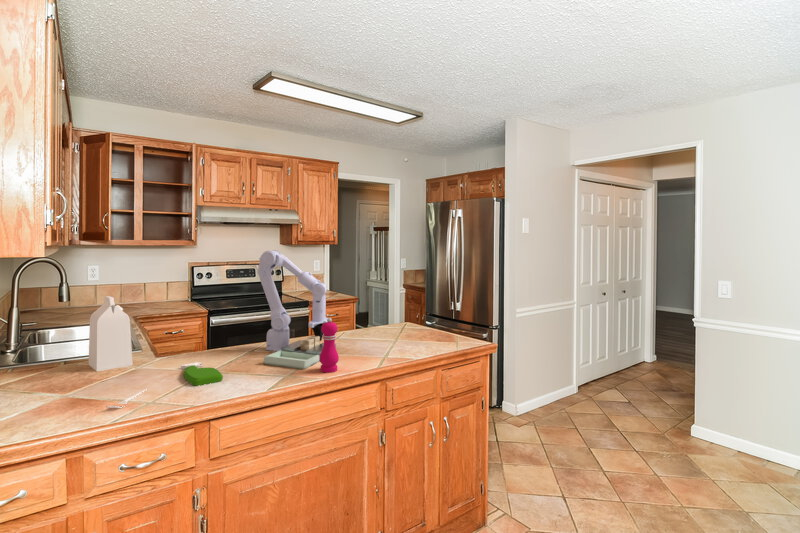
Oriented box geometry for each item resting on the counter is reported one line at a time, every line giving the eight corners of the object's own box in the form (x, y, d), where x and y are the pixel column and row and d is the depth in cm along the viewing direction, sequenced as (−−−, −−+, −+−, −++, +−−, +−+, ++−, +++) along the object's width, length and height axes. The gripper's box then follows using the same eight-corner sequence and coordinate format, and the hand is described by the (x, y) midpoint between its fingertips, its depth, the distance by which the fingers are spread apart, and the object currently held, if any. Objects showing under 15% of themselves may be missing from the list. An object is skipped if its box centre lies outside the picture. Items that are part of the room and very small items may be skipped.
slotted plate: (281, 356, 183) (281, 347, 183) (299, 348, 196) (299, 340, 196) (319, 361, 177) (319, 351, 177) (335, 353, 190) (335, 344, 190)
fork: (154, 389, 143) (154, 384, 143) (116, 412, 123) (115, 406, 123) (144, 389, 143) (144, 384, 143) (104, 412, 123) (104, 406, 123)
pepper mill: (342, 370, 166) (343, 318, 165) (327, 374, 160) (327, 320, 159) (330, 366, 171) (331, 315, 169) (315, 370, 165) (315, 317, 164)
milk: (88, 364, 166) (86, 296, 165) (123, 358, 175) (122, 294, 173) (96, 371, 158) (95, 300, 157) (132, 365, 167) (131, 297, 165)
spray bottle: (192, 388, 144) (173, 371, 163) (226, 381, 151) (204, 366, 170) (191, 379, 144) (173, 363, 163) (225, 373, 151) (204, 358, 170)
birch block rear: (306, 346, 188) (306, 337, 188) (311, 344, 192) (311, 335, 192) (315, 347, 187) (315, 338, 187) (319, 345, 191) (319, 336, 191)
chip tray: (264, 364, 172) (264, 356, 172) (281, 356, 182) (281, 349, 182) (304, 369, 166) (304, 361, 166) (319, 361, 177) (319, 353, 177)
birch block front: (300, 349, 184) (300, 339, 183) (305, 347, 187) (305, 337, 187) (309, 350, 182) (309, 340, 182) (313, 348, 186) (313, 338, 186)
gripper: (319, 313, 185) (318, 345, 186) (334, 308, 199) (334, 338, 200) (304, 312, 187) (304, 343, 188) (320, 307, 201) (320, 336, 202)
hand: (318, 340), depth 194 cm, fingers closed
